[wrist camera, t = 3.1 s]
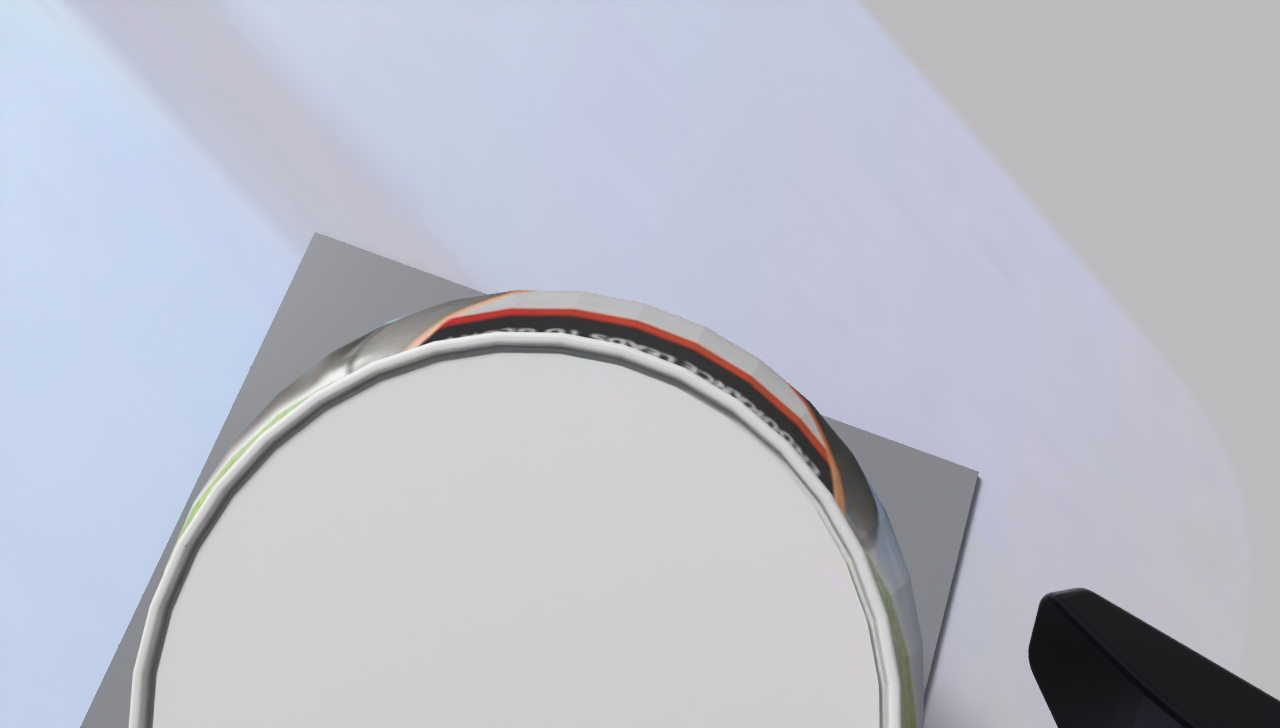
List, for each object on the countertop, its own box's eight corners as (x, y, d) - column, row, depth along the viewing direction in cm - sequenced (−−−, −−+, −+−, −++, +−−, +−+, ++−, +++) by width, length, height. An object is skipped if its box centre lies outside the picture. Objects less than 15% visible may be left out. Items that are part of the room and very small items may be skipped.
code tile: (975, 472, 19) (980, 471, 19) (843, 1014, 16) (846, 1020, 16) (316, 235, 19) (314, 230, 19) (75, 746, 16) (68, 748, 16)
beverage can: (794, 496, 18) (1237, 316, 7) (625, 877, 16) (837, 1542, 5) (505, 350, 18) (451, -76, 7) (303, 711, 16) (-246, 968, 5)
